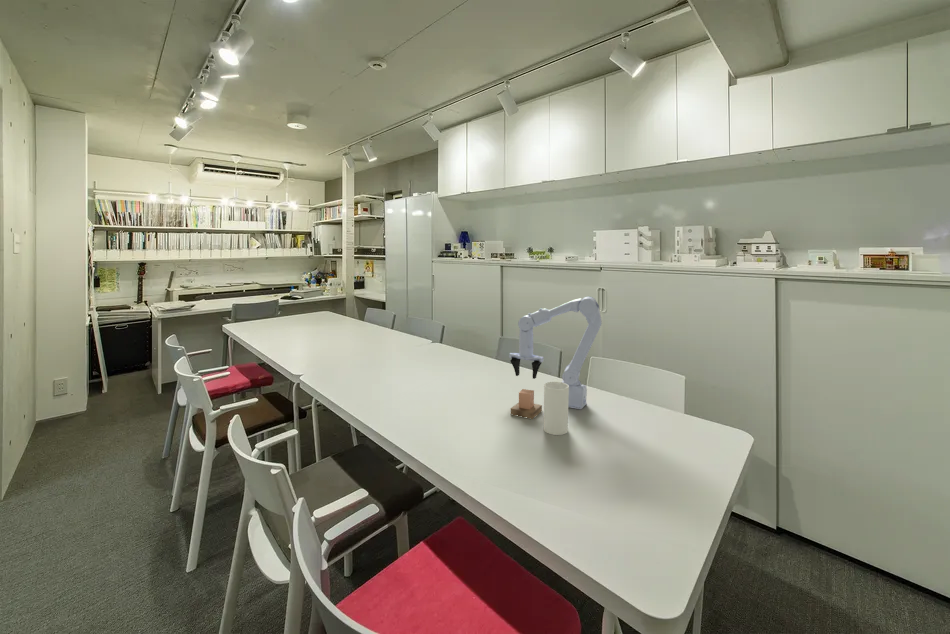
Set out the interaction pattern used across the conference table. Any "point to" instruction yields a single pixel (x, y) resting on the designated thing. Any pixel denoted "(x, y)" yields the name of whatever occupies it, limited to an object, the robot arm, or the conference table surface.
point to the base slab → (526, 411)
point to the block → (526, 399)
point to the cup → (556, 408)
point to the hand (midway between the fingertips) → (525, 376)
